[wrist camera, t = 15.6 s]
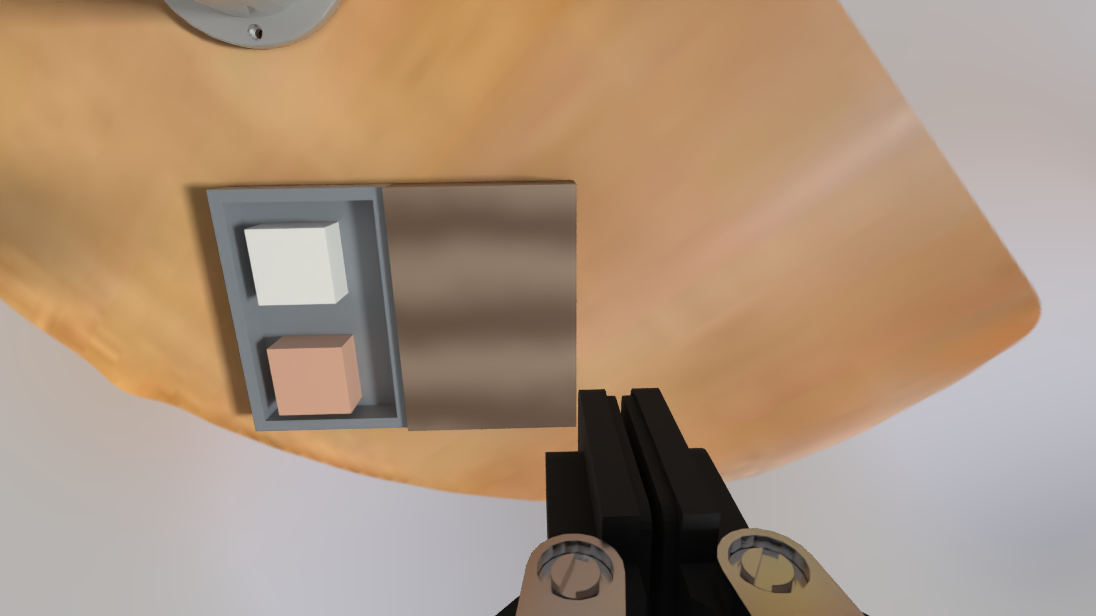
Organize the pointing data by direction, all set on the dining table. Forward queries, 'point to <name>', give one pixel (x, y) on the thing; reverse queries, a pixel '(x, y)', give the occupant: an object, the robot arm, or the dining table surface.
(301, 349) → the terracotta tile
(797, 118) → the dining table surface
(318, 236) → the white block
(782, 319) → the dining table surface
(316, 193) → the box
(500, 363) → the walnut board
